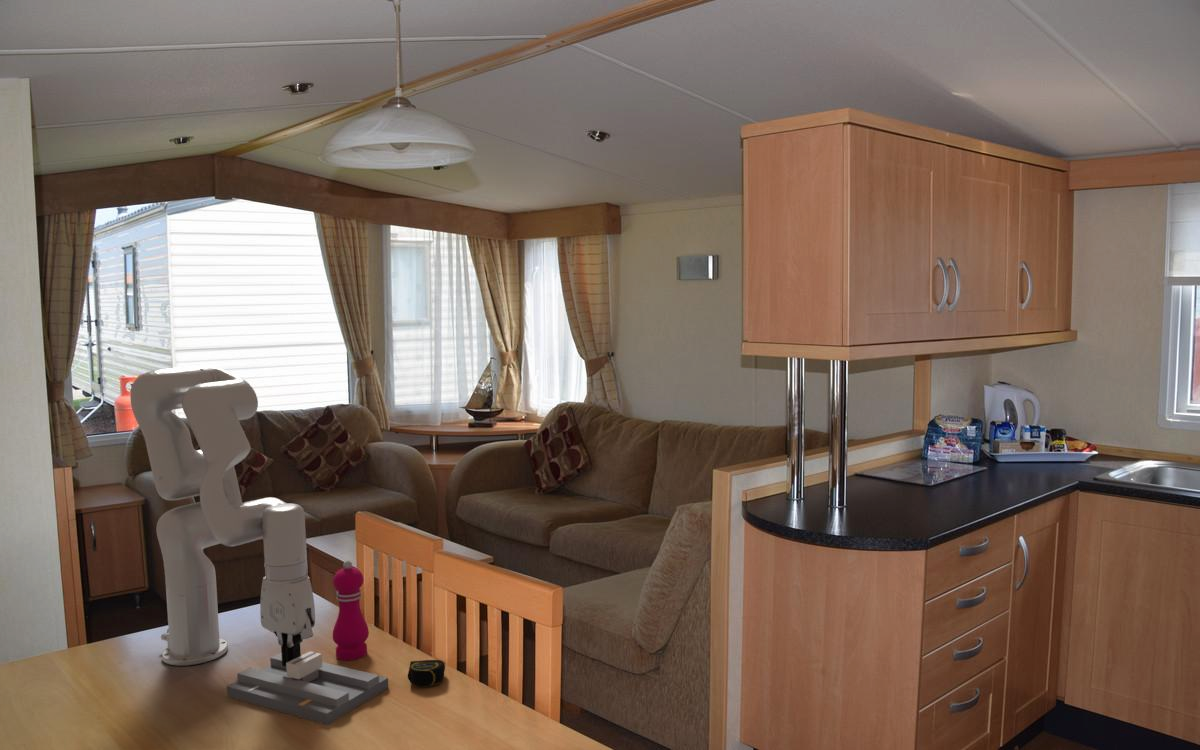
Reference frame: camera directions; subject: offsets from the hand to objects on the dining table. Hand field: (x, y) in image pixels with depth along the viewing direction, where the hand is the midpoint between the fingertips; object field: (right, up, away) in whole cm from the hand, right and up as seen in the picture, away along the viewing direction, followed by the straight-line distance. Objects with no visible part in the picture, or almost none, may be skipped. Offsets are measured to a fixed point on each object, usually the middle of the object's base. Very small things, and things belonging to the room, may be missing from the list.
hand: (291, 664), depth 173 cm
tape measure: (+25, -5, +3) cm, 25 cm away
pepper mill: (+7, -3, +16) cm, 18 cm away
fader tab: (+3, -3, -1) cm, 4 cm away
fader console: (+4, -5, -1) cm, 6 cm away
